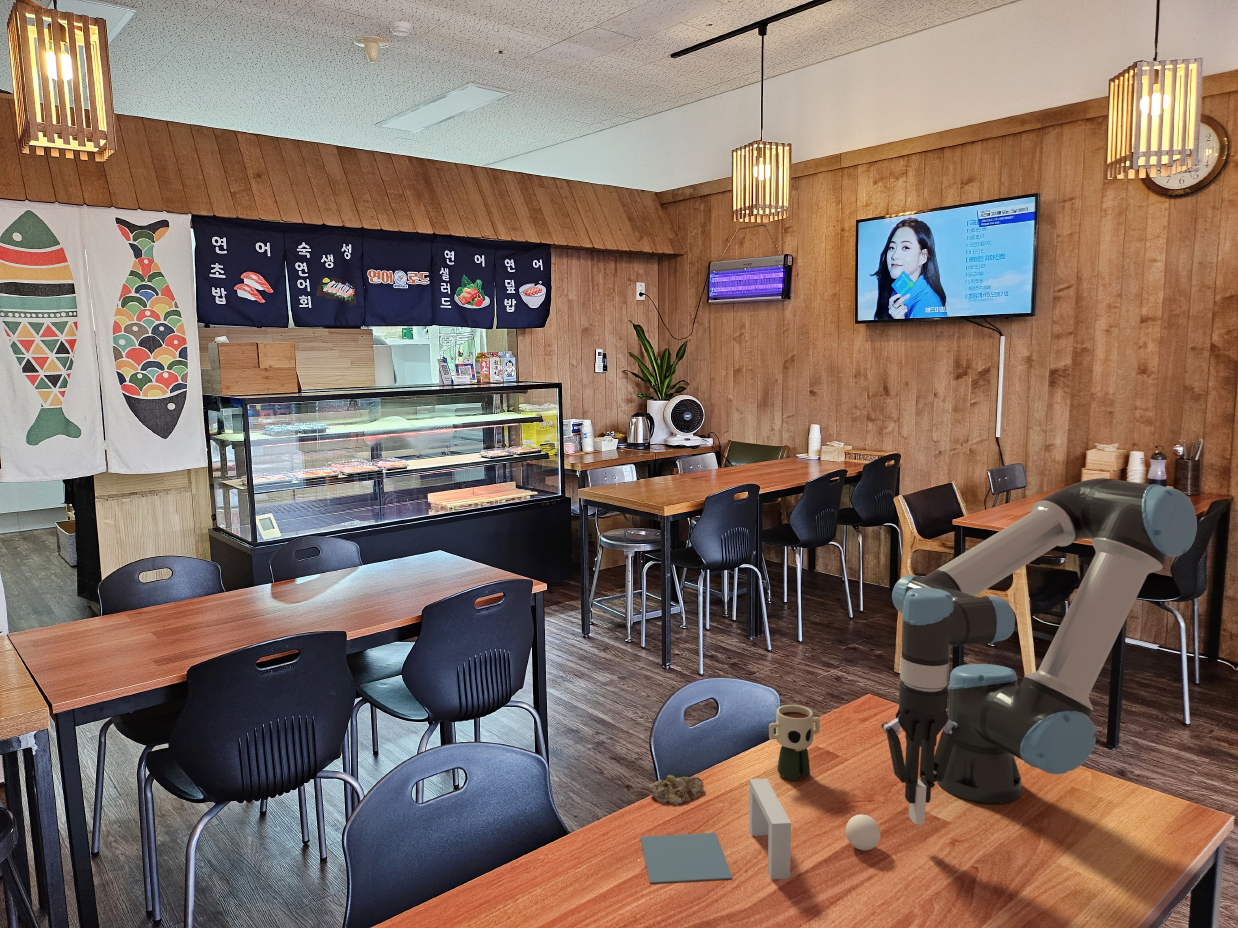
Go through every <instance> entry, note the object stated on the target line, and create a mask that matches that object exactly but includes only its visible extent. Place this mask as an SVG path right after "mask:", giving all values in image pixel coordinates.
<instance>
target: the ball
mask: <svg viewBox="0 0 1238 928" xmlns="http://www.w3.org/2000/svg"><path fill="white" fill-rule="evenodd" d="M845 834H846V838H847V840H848V842H849V843H850V844H851V845H852V846H853V847H854V848H856V849H857V850H860V851H870V850H872V849H874V848H876V847H877V845H878V844H879V842H880V839H881V829H880V827H879V825H878V823H877V821H876V820H875V819H873V818H872V817H871V816H870V815H867V814H855V815H854V816H852V817H851V818H850V819H849V820H848V821H847V823H846V827H845Z"/></svg>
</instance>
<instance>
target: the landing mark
mask: <svg viewBox="0 0 1238 928" xmlns="http://www.w3.org/2000/svg"><path fill="white" fill-rule="evenodd" d="M639 837H640V841H641V846H642V851H643V856H644V862H645V866H647V867H646V871H648V872H647V874H648V875H647V876H648V880H650V881H649V883H650V884H661V883H664V882H666V883H681V882H697V881H698V882H700V881H715V880H718V881H719V880H732V879H733V876H732V873H731V869H730V866H729V865H728V862H727V859H726V856H725V855H724V854H725V853H724V852H723V849H722V846H721V844H720V841H719V839H718V835H717V832H705V833H686V834H685V833H683V834H666V835H645V836H644V835H643V836H639ZM664 884H665V883H664Z"/></svg>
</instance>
